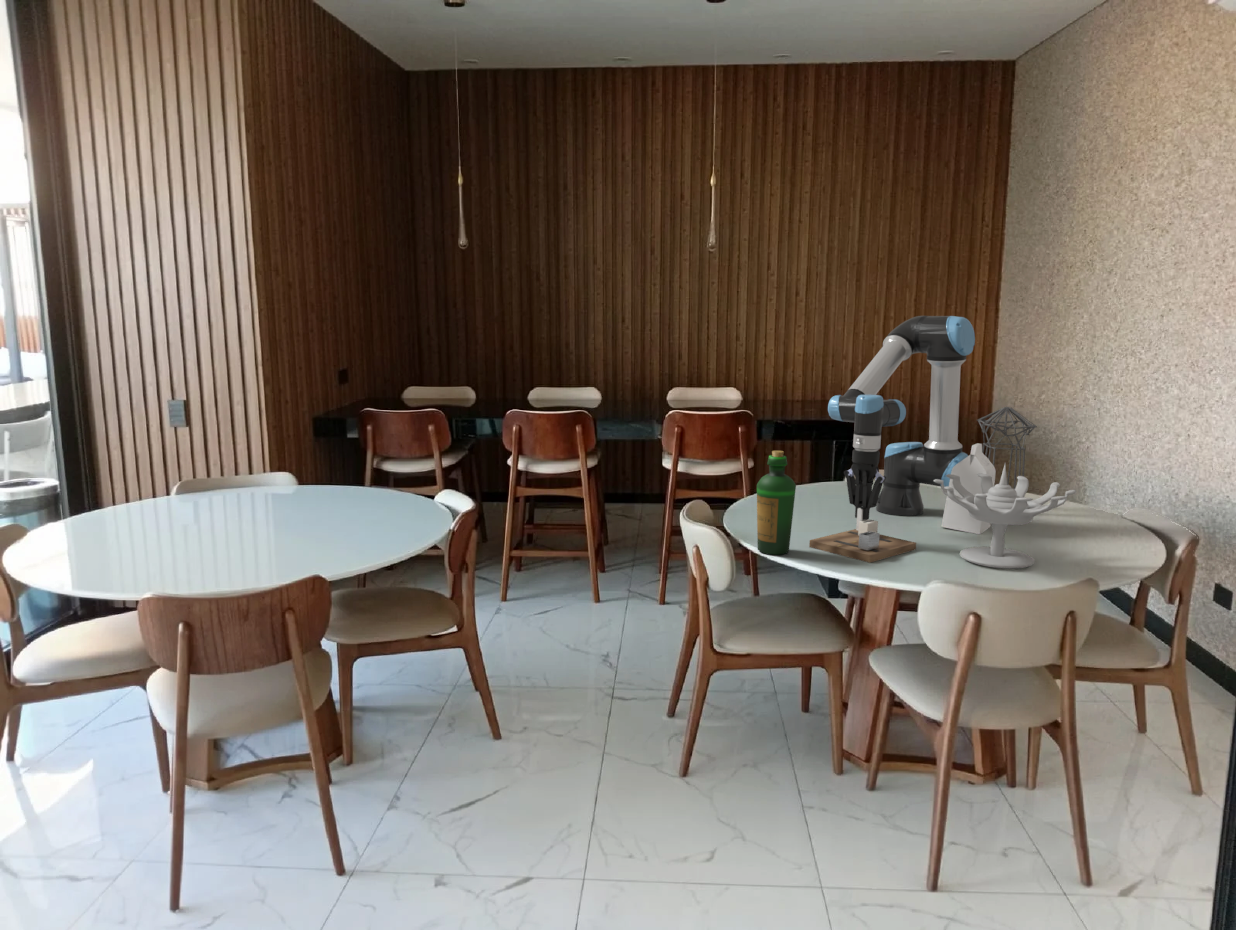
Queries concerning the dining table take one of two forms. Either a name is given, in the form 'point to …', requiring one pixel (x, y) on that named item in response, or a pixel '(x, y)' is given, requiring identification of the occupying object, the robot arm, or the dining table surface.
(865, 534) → the fader
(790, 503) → the bottle
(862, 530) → the fader
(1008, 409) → the geometric lantern
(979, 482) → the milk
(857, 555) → the wooden board
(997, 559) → the candelabra
